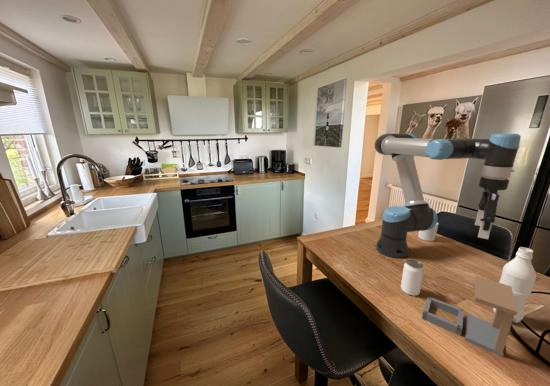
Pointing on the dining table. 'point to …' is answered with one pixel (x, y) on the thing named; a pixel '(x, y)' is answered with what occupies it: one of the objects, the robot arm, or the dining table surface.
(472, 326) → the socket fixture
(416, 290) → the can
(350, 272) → the dining table surface
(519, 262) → the water bottle
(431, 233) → the mug
